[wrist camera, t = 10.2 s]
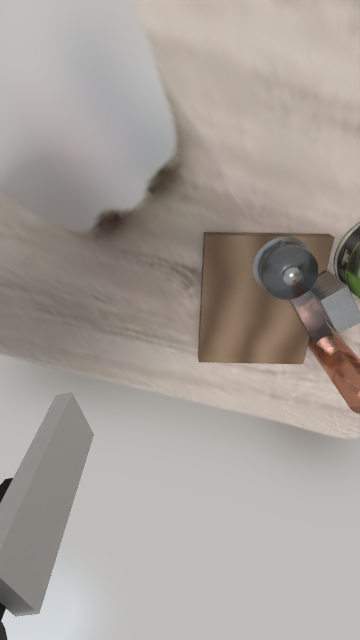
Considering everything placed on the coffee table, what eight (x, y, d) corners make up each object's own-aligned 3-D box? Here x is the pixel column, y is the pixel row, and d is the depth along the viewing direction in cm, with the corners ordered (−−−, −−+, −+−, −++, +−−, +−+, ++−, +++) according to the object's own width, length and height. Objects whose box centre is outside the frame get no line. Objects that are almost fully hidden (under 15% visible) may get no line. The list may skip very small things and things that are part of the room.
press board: (198, 356, 44) (198, 362, 43) (204, 232, 36) (205, 235, 35) (299, 358, 44) (303, 365, 43) (328, 234, 36) (335, 237, 35)
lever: (248, 260, 36) (272, 296, 26) (305, 225, 34) (354, 249, 24) (309, 363, 42) (347, 422, 33) (360, 338, 40) (416, 394, 31)
